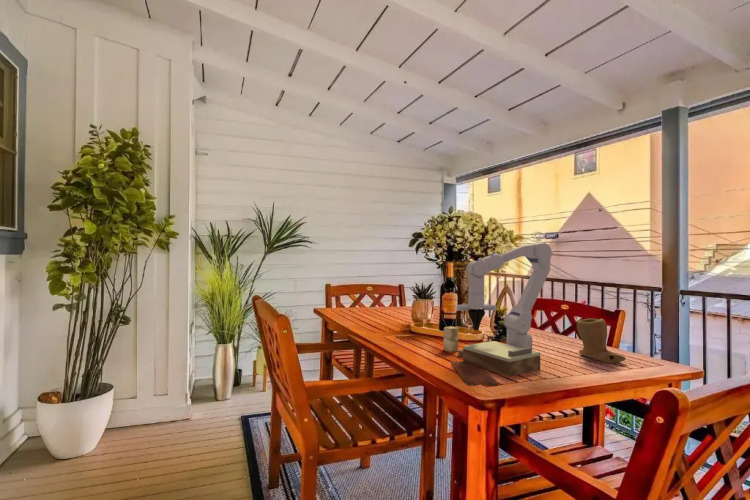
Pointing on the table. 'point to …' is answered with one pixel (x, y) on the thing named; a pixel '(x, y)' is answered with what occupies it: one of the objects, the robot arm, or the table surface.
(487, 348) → the lid
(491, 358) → the shallow rectangular box
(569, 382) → the table surface
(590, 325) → the brown suede boot
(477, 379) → the wooden tablet
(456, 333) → the beige tall block
